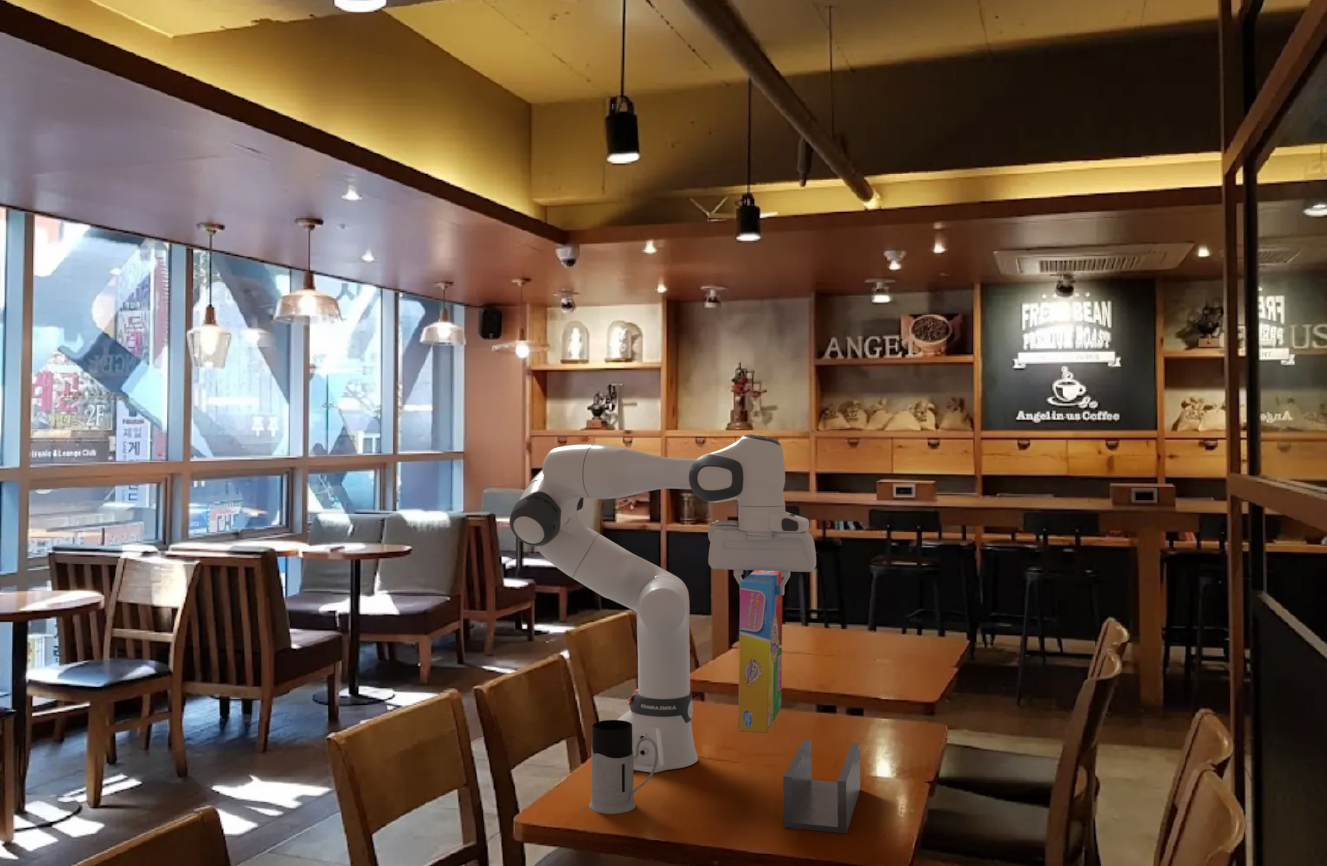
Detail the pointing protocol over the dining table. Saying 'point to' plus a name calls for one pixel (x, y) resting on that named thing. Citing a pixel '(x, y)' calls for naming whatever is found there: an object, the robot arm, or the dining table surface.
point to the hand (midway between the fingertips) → (762, 594)
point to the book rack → (820, 793)
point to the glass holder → (614, 766)
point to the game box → (760, 651)
